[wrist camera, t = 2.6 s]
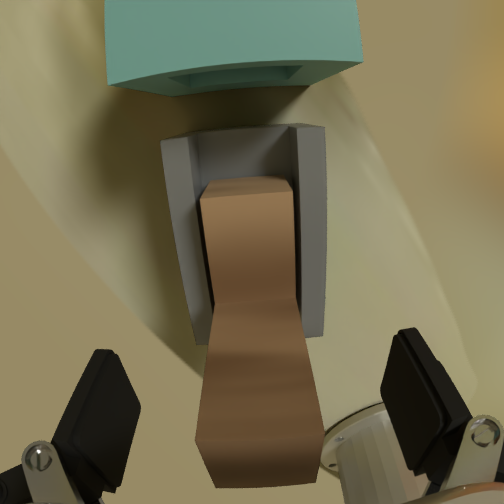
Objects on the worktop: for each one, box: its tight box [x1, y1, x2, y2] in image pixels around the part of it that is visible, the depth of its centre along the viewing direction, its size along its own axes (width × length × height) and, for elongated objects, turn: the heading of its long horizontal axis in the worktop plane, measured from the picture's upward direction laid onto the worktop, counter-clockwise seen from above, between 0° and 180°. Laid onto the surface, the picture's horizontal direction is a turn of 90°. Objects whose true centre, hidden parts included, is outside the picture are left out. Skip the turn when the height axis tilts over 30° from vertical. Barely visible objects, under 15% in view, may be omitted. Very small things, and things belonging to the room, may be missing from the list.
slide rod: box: [195, 175, 325, 488], centre depth 10 cm, size 7×3×9 cm, turn 4°
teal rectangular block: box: [105, 0, 363, 97], centre depth 10 cm, size 4×7×8 cm, turn 95°
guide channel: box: [160, 123, 327, 345], centre depth 15 cm, size 9×6×5 cm, turn 4°
